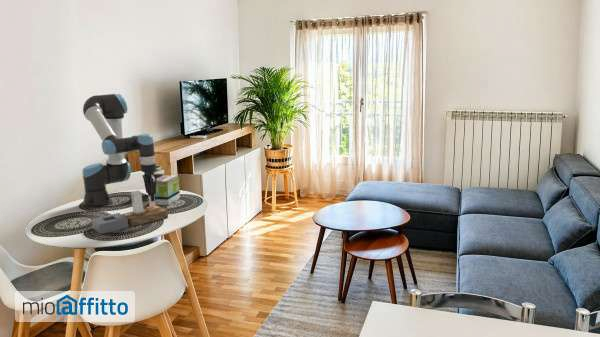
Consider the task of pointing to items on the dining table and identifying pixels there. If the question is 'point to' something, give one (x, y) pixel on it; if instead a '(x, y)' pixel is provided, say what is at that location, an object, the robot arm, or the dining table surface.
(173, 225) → the dining table surface
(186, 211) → the dining table surface
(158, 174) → the apothecary jar
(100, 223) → the block
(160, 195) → the tea box
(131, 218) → the socket block
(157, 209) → the plunger
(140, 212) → the steel peg
